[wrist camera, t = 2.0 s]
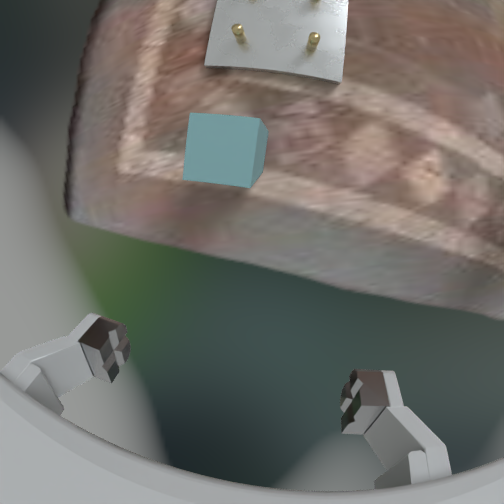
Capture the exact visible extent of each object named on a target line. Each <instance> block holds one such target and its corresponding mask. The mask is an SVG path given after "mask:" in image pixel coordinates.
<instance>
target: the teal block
mask: <svg viewBox="0 0 504 504" xmlns="http://www.w3.org/2000/svg"><path fill="white" fill-rule="evenodd" d="M267 138H268V130H267V128H266V127H265V125H264V124H263V122H262V121H261V119H260V118H252V117H242V116H232V115H220V114H205V113H190V117H189V125H188V133H187V141H186V150H185V160H184V171H183V180H190V181H199V182H208V183H216V184H224V185H232V186H239V187H246V188H251V187H252V185H253V184H254V183H255V181H256V180H257V179H258V178H259V176H260V175H261V174H262V173H263V166H264V159H265V152H266V145H267Z"/></svg>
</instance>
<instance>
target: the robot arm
mask: <svg viewBox="0 0 504 504" xmlns="http://www.w3.org/2000/svg"><path fill="white" fill-rule="evenodd" d="M126 333H127V329H126V325H124V324H123V323H120V322H117V321H114V320H111V319H108V318H106V317H103V316H100V315H97V314H95V313H90V314H88V315H87V316H86V317H85V318H84V319H83V321H82V322H80V324H79V325H78V326H77V327H76V328H75V329H74V330H73V331H72V332H71V333H70V334H69V335H68V336H67V337H66V336H62V337H60V338H57V339H54V340H51V341H49V342H46V343H43V344H40V345H37V346H35V347H32V348H29V349H26V350H23V351H21V352H18V353H17V354H16V355H15V356H14V357H13V358H12V359H11V360H10V362H9V363H8V364H7V365H6V366H5V367H4V368H3V369H2V370H1V371H0V504H504V457H503V458H501V459H498V460H496V461H493V462H491V463H488V464H486V465H483V466H480V467H477V468H474V469H472V470H468V471H465V472H461V473H458V474H454V475H452V473H451V468H450V463H449V458H448V454H447V449H446V445H445V444H444V443H443V442H442V441H441V440H440V439H439V438H438V437H437V436H436V435H435V434H434V433H433V432H432V431H431V430H430V429H429V428H428V427H427V426H426V425H425V424H424V423H423V422H422V421H421V420H420V419H419V418H418V417H417V416H416V415H415V414H414V413H413V412H412V411H411V410H410V409H409V408H408V407H407V406H406V407H405V406H404V405H403V401H402V397H401V393H400V389H399V385H398V382H397V379H396V375H395V372H394V371H383V370H382V371H379V370H364V369H354V370H353V371H352V372H351V374H350V376H349V377H350V381H349V382H347V383H346V384H345V385H344V387H343V389H342V393H341V397H340V408H341V410H343V412H344V414H343V416H342V417H341V432H342V433H344V434H364V435H363V436H364V437H365V439H366V440H367V442H368V443H369V445H370V446H371V448H372V449H373V451H374V452H375V454H376V455H377V457H378V458H379V460H380V461H381V462H382V464H383V466H384V467H385V469H386V470H387V471H386V472H385V473H384V474H383V475H381V476H380V477H378V478H377V479H376V480H375V481H374V485H375V489H371V490H357V491H301V490H287V489H276V488H267V487H260V486H252V485H246V484H241V483H235V482H230V481H225V480H220V479H216V478H211V477H207V476H203V475H199V474H195V473H192V472H188V471H185V470H181V469H178V468H175V467H172V466H169V465H166V464H163V463H159V462H156V461H154V460H151V459H148V458H146V457H143V456H141V455H138V454H136V453H133V452H131V451H128V450H126V449H124V448H121V447H119V446H117V445H115V444H112V443H110V442H108V441H106V440H104V439H102V438H100V437H98V436H96V435H94V434H92V433H90V432H88V431H86V430H84V429H82V428H80V427H79V426H77V425H75V424H73V423H72V422H70V421H68V420H66V419H65V418H63V417H61V416H60V415H61V413H62V412H63V410H64V407H63V405H62V404H61V402H60V400H59V399H58V397H60V396H62V395H63V394H65V393H67V392H69V391H70V390H72V389H74V388H76V387H78V386H79V385H81V384H83V383H85V382H86V381H88V380H90V379H92V378H93V376H94V377H97V378H99V379H102V380H104V381H107V382H109V383H112V382H113V381H114V379H115V377H116V376H117V374H118V373H119V366H120V365H122V364H124V363H125V362H126V361H127V359H128V357H129V354H130V341H129V340H128V338H127V337H126V336H125V334H126Z"/></svg>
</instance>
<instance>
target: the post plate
mask: <svg viewBox="0 0 504 504" xmlns="http://www.w3.org/2000/svg"><path fill="white" fill-rule="evenodd" d="M347 12H348V0H217V4H216V9H215V13H214V18H213V22H212V27H211V32H210V37H209V42H208V47H207V53H206V58H205V64H204V66H205V67H206V68H223V69H241V70H253V71H263V72H272V73H279V74H287V75H293V76H299V77H305V78H311V79H316V80H321V81H326V82H331V83H335V84H340V83H341V82H342V73H343V63H344V52H345V41H346V28H347Z"/></svg>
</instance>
